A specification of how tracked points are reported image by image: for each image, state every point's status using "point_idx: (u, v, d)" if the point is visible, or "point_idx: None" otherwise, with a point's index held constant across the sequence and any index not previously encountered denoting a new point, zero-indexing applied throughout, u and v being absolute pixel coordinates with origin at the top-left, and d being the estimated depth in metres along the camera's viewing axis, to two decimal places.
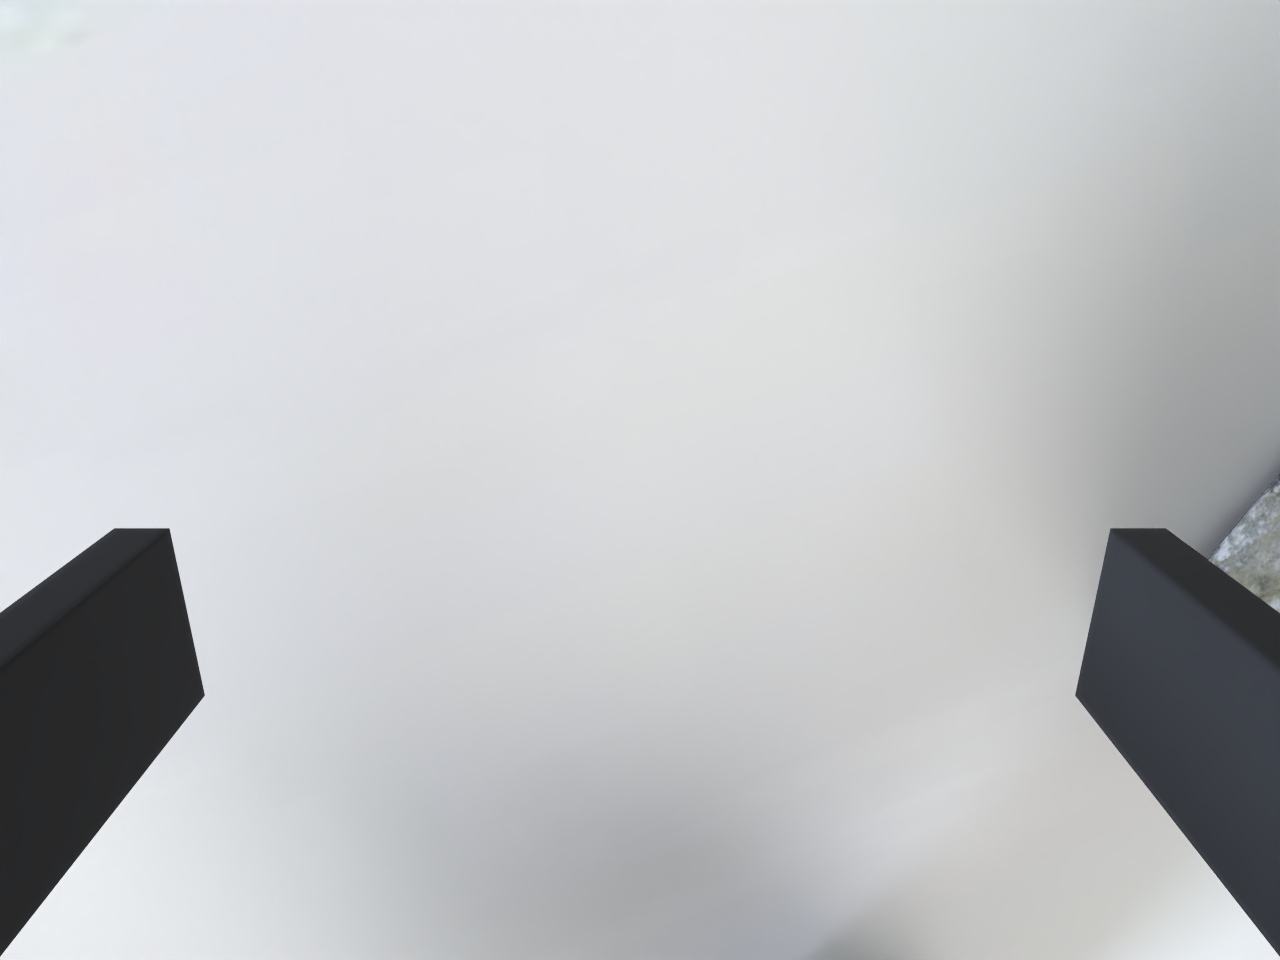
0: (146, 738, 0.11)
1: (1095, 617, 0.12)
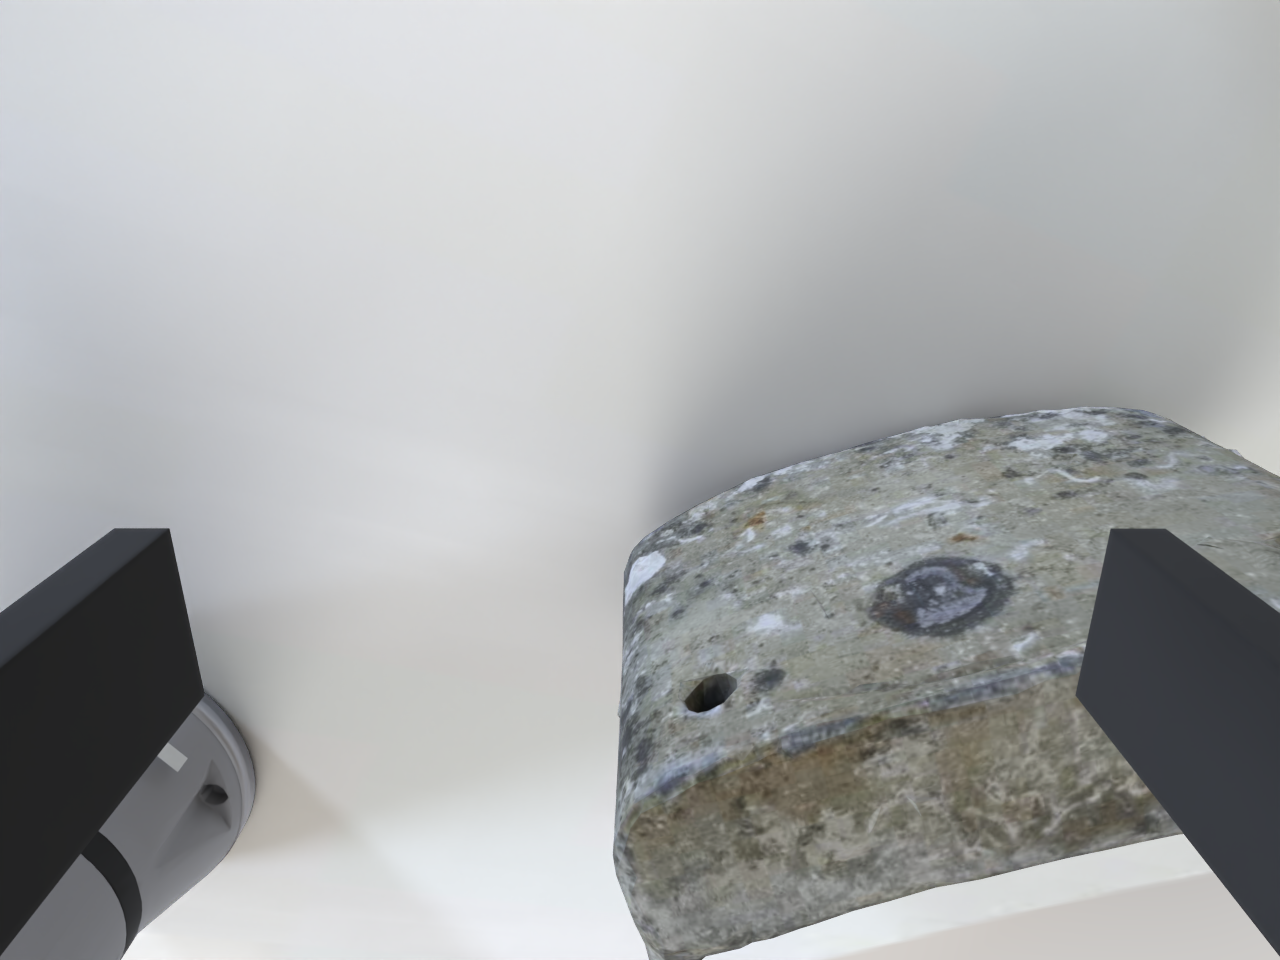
0: (147, 738, 0.11)
1: (1095, 617, 0.12)
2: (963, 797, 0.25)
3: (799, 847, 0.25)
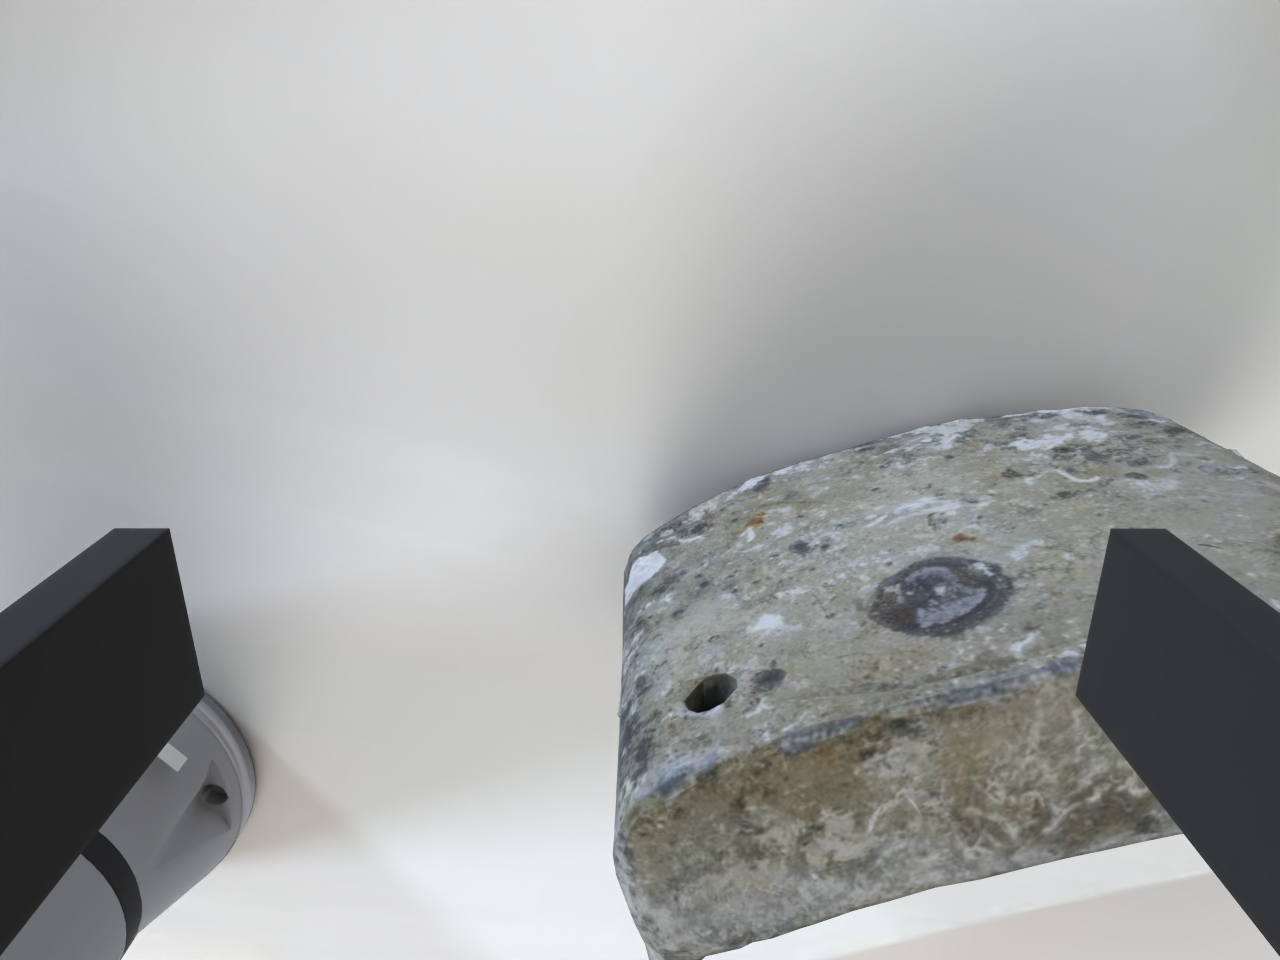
0: (147, 738, 0.11)
1: (1095, 617, 0.12)
2: (963, 797, 0.25)
3: (799, 847, 0.25)
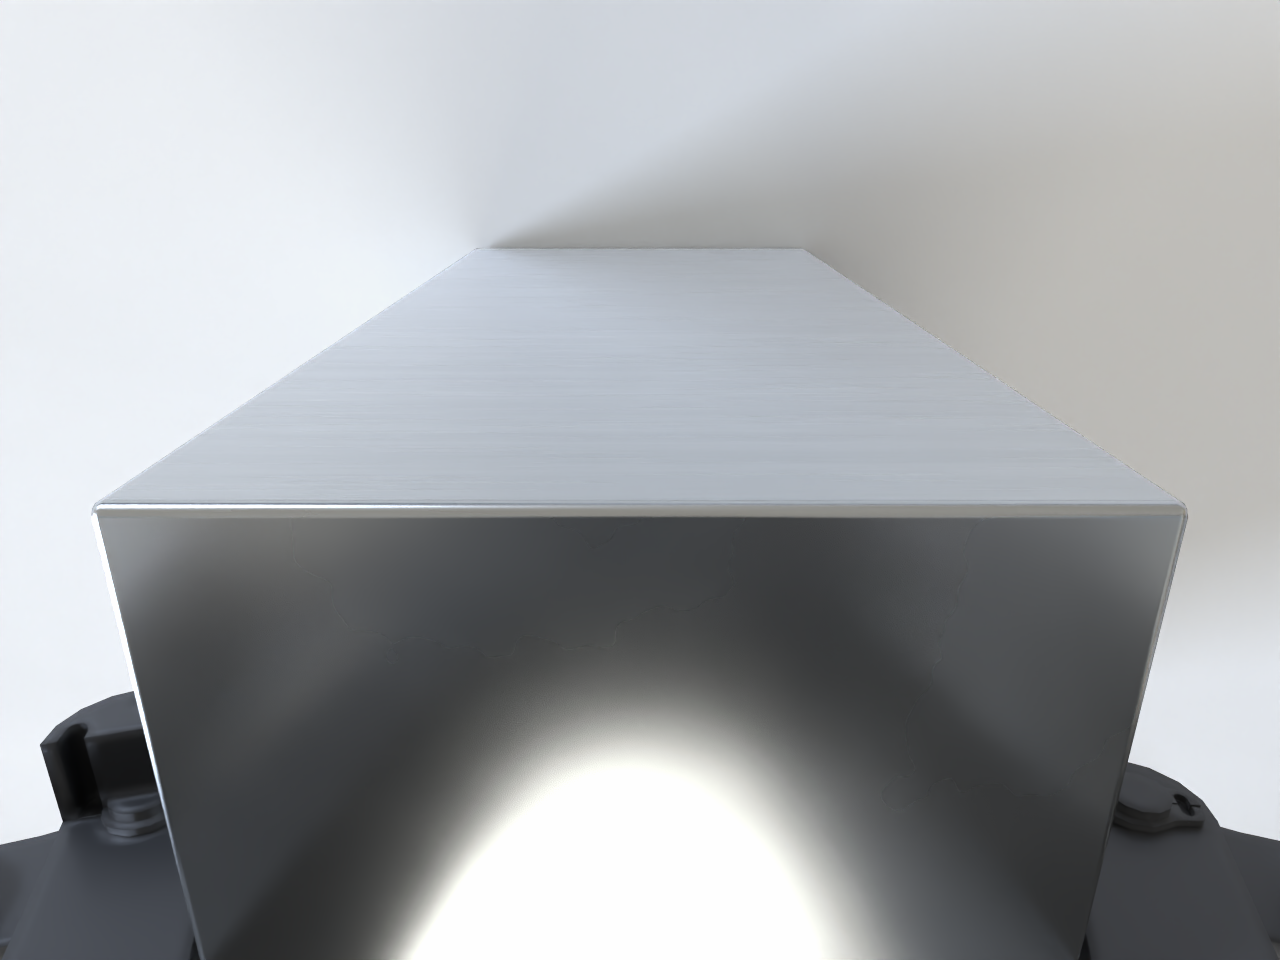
0: None
1: None
2: None
3: None
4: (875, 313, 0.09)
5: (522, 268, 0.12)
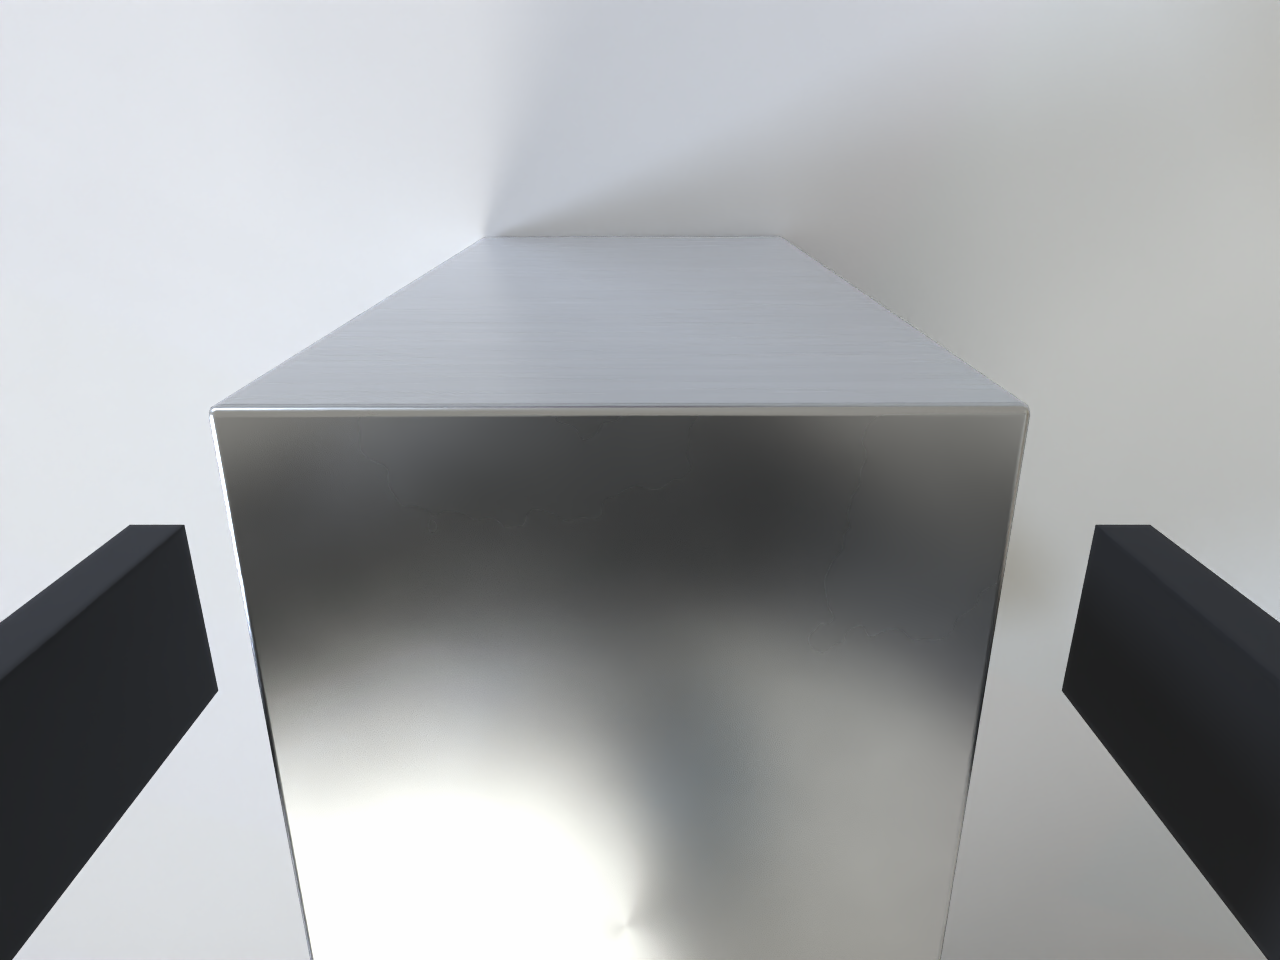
0: (162, 733, 0.12)
1: (1081, 612, 0.13)
2: None
3: None
4: (831, 285, 0.11)
5: (526, 252, 0.14)
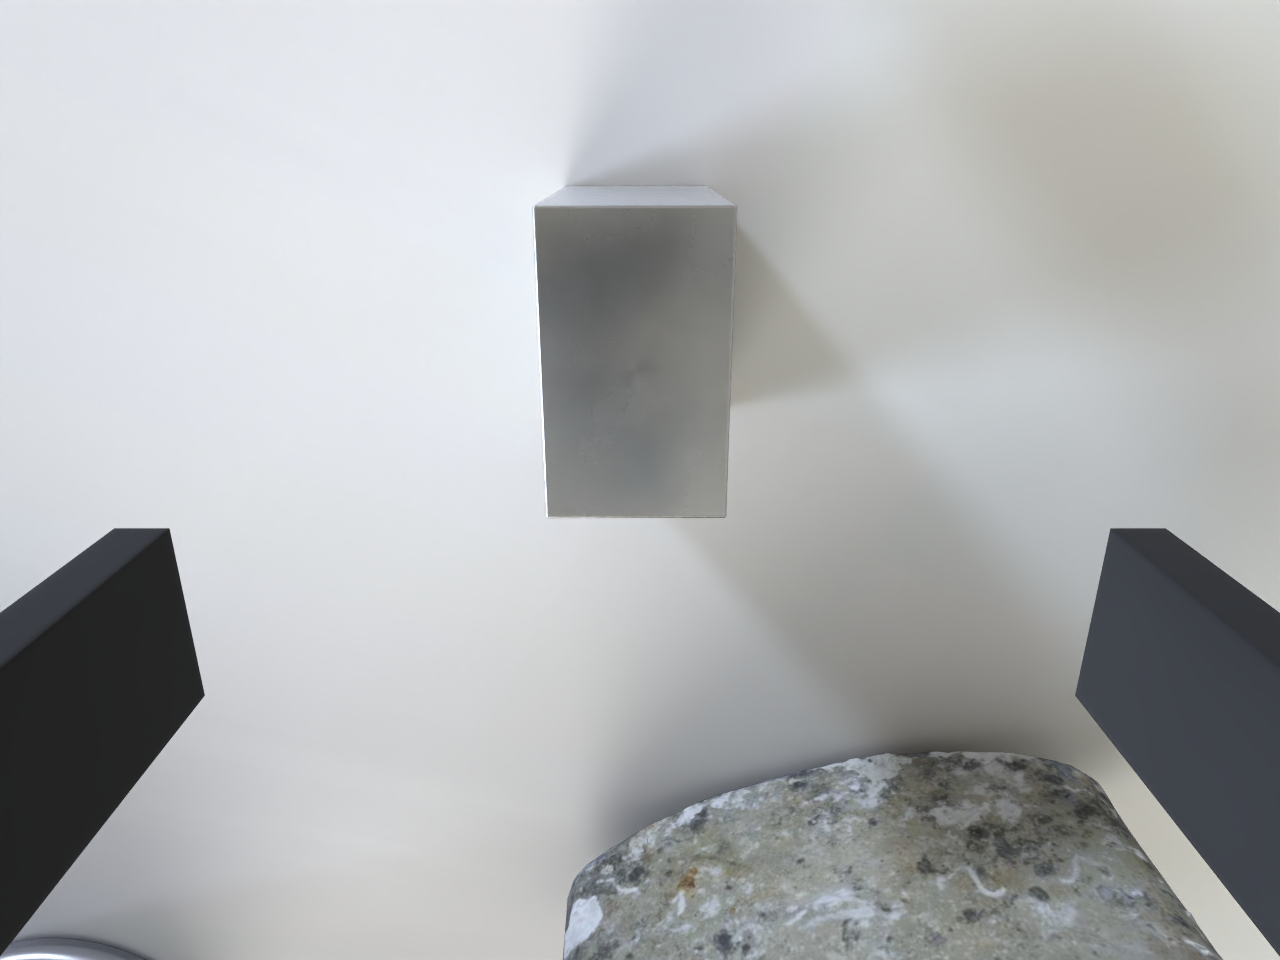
0: (147, 738, 0.11)
1: (1095, 617, 0.12)
2: None
3: None
4: (711, 194, 0.28)
5: (590, 189, 0.32)
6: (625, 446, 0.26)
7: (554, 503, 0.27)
